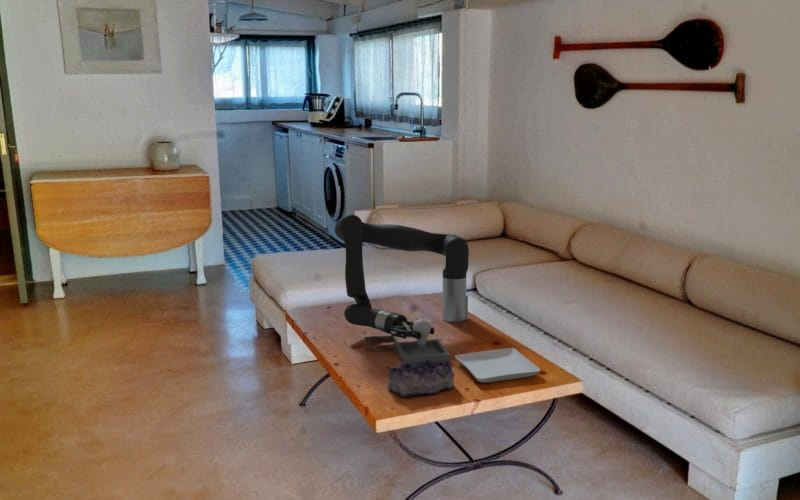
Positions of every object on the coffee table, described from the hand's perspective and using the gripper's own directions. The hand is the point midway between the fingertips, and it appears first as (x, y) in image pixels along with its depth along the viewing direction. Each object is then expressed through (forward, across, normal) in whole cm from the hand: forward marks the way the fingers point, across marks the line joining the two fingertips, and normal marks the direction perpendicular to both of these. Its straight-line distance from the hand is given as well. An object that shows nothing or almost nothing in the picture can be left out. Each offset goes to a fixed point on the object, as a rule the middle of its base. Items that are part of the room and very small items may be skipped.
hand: (427, 333), depth 234 cm
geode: (+16, -21, +9) cm, 27 cm away
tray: (-2, 0, +9) cm, 9 cm away
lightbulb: (-2, 0, +7) cm, 7 cm away
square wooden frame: (-20, -1, +9) cm, 22 cm away
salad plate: (+24, +6, +9) cm, 26 cm away
